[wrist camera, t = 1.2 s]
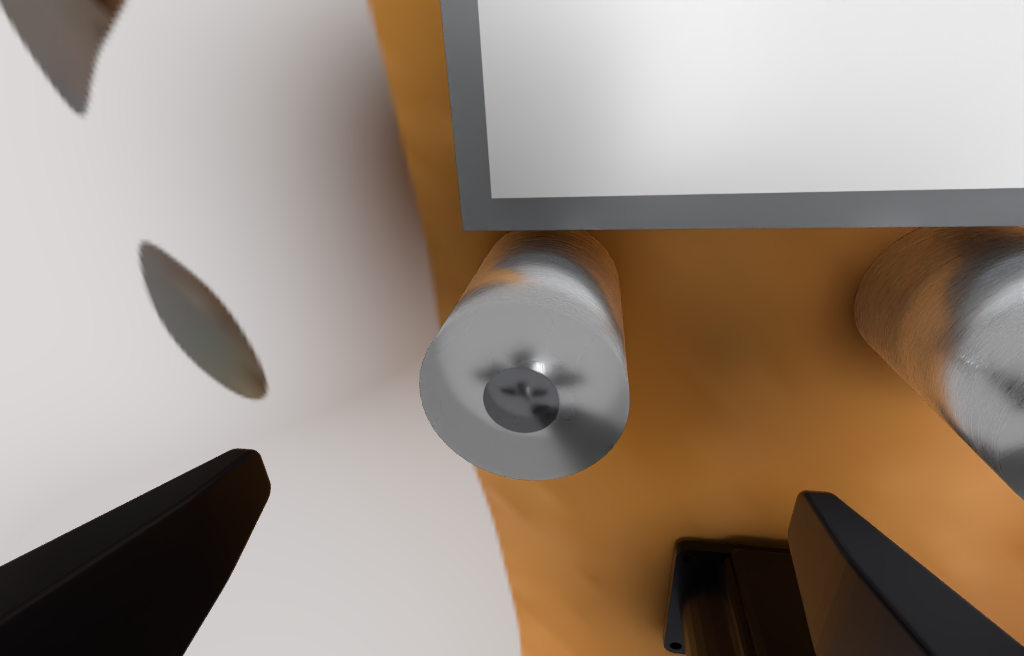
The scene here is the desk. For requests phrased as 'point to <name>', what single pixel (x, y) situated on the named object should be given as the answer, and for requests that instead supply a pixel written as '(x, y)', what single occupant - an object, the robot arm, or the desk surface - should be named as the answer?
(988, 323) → the spacer
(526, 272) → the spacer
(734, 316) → the desk surface
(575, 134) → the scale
